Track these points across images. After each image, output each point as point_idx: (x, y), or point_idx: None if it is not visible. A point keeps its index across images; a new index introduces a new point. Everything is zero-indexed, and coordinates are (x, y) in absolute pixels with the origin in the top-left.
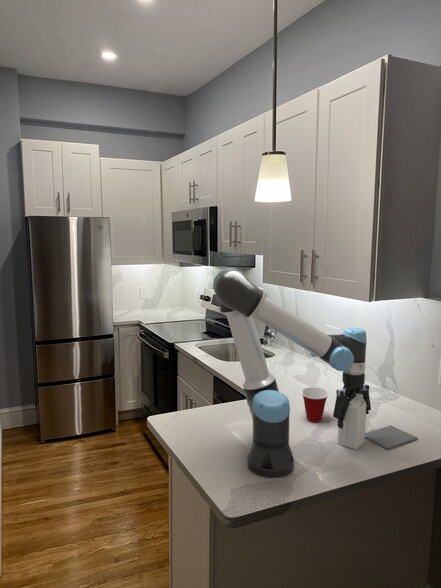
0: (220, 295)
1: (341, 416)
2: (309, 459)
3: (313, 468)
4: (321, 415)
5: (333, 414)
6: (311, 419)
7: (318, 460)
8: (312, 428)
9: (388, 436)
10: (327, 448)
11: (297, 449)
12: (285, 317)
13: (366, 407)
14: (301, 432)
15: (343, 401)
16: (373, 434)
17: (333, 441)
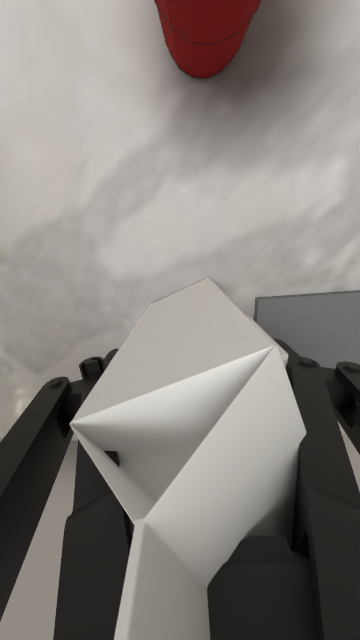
0: None
1: None
2: (22, 340)
3: (16, 376)
4: (224, 44)
5: (40, 393)
6: (166, 39)
7: (44, 354)
8: (134, 137)
9: (323, 347)
10: (102, 313)
11: (4, 277)
12: None
13: (338, 399)
14: (68, 153)
15: (14, 581)
16: (296, 316)
17: (147, 283)
